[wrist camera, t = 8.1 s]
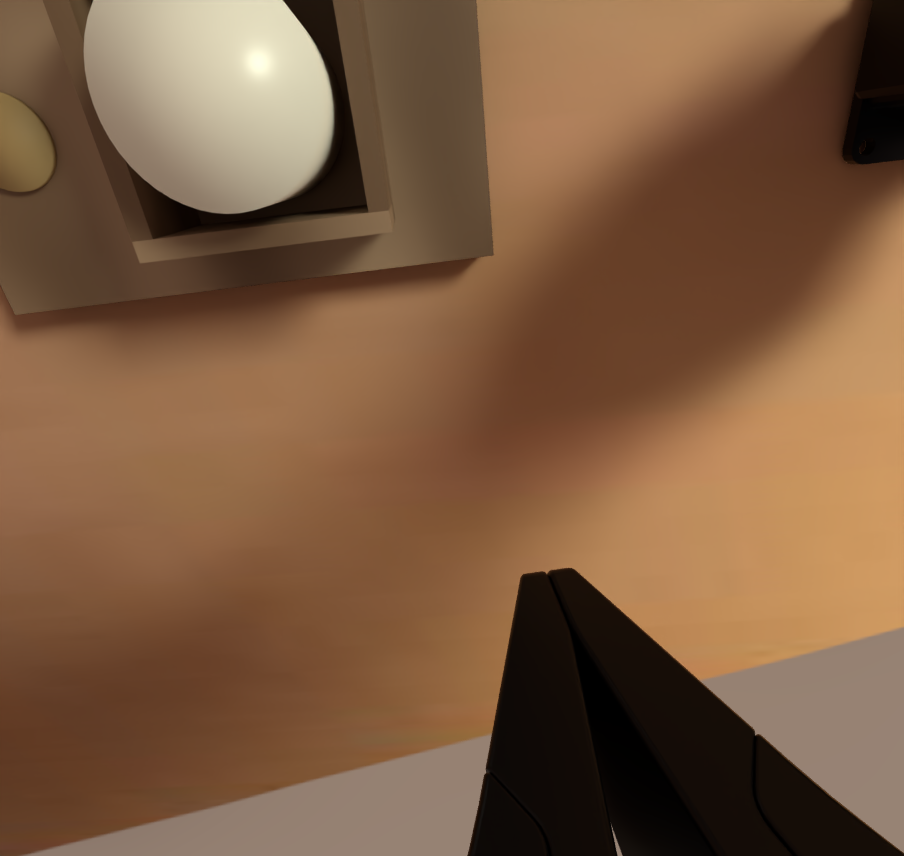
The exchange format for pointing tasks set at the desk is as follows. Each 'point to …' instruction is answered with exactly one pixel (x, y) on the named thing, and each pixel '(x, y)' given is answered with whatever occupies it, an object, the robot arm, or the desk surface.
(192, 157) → the button
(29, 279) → the board
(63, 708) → the desk surface
